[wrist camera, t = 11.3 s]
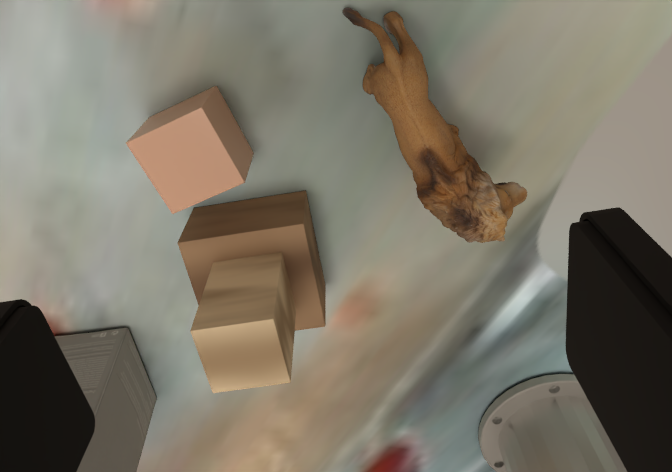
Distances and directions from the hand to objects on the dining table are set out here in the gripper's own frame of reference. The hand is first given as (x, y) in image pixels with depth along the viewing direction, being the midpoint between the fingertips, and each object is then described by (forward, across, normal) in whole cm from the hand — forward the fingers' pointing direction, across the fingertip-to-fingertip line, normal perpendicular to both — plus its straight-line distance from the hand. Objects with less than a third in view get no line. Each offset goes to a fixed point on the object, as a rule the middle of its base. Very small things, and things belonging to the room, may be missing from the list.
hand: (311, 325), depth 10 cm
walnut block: (+28, +7, +14) cm, 32 cm away
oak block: (+23, +7, +14) cm, 28 cm away
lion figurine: (+29, -6, +5) cm, 30 cm away
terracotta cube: (+29, +9, +5) cm, 30 cm away
